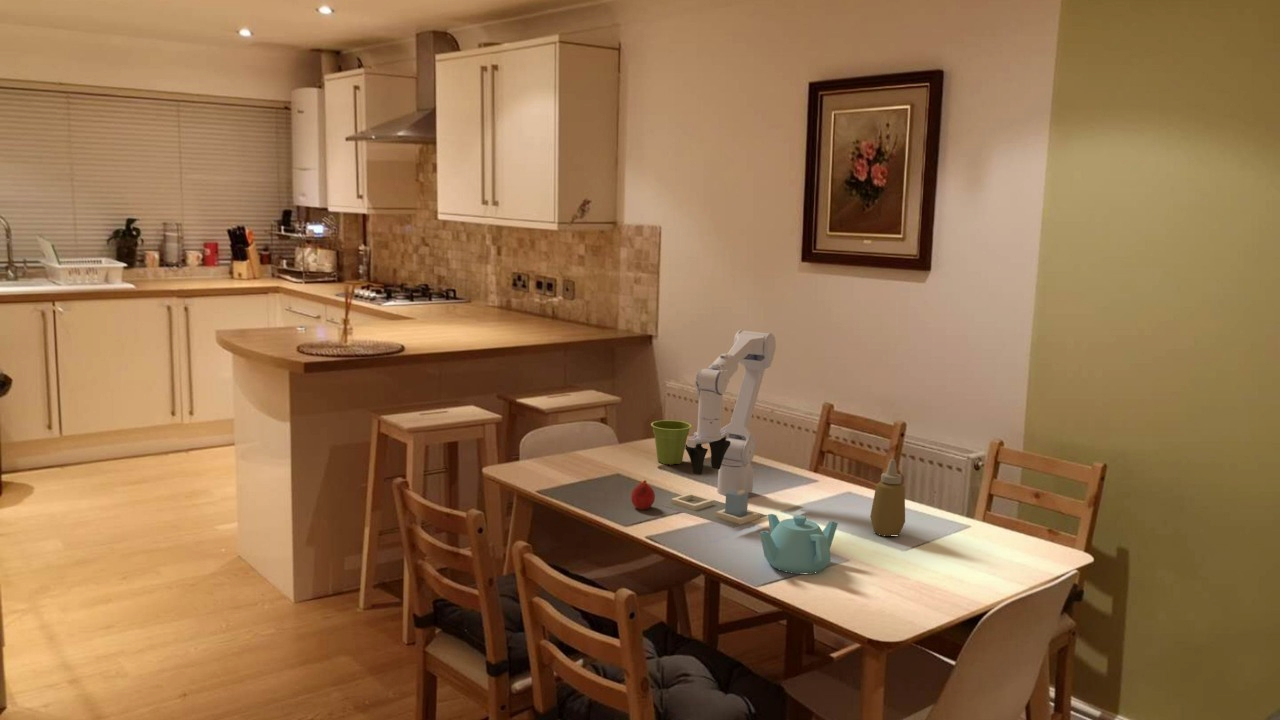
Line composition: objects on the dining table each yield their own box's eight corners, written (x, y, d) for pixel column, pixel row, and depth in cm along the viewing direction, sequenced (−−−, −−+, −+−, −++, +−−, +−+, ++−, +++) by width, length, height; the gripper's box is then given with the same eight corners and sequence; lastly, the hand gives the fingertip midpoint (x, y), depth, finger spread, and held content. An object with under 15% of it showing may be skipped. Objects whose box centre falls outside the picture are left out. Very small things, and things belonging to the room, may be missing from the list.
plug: (731, 513, 247) (733, 487, 246) (746, 516, 245) (748, 490, 244) (724, 517, 243) (726, 490, 242) (739, 520, 241) (741, 493, 240)
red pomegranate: (651, 516, 245) (653, 484, 244) (628, 513, 246) (629, 482, 245) (656, 509, 250) (657, 478, 249) (633, 507, 252) (634, 475, 250)
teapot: (753, 571, 211) (756, 521, 210) (766, 548, 226) (769, 502, 224) (827, 582, 207) (831, 531, 205) (835, 558, 221) (839, 511, 220)
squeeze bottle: (905, 531, 242) (911, 458, 239) (902, 541, 235) (909, 466, 232) (871, 526, 245) (877, 454, 242) (867, 536, 237) (873, 461, 234)
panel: (697, 499, 261) (697, 490, 261) (767, 519, 246) (768, 510, 246) (661, 509, 251) (662, 500, 250) (733, 531, 236) (733, 522, 236)
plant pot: (647, 456, 302) (648, 419, 300) (686, 457, 303) (688, 420, 302) (651, 467, 290) (653, 428, 289) (692, 467, 292) (694, 429, 290)
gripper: (714, 410, 257) (711, 462, 259) (678, 418, 246) (675, 473, 248) (736, 415, 252) (733, 468, 254) (701, 423, 241) (698, 479, 243)
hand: (706, 471), depth 251 cm, fingers open, 7 cm apart
